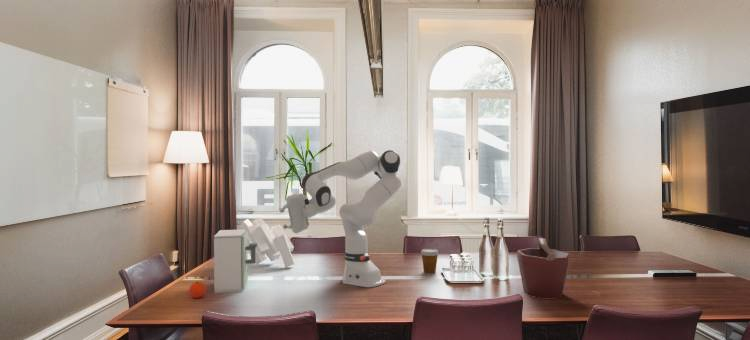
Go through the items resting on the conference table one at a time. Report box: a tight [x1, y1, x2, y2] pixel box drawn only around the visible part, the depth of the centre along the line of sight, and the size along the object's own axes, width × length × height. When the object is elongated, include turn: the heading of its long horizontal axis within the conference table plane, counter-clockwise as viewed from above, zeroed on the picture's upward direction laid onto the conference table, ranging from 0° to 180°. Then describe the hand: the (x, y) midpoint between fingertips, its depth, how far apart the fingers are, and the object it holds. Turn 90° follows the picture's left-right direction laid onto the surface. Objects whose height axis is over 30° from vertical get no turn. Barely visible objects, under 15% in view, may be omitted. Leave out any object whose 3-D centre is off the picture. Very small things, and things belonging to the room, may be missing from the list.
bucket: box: [516, 237, 571, 299], centre depth 198 cm, size 24×22×25 cm
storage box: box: [213, 229, 245, 294], centre depth 208 cm, size 12×18×26 cm, turn 11°
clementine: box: [188, 281, 208, 299], centre depth 192 cm, size 8×7×7 cm
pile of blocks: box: [239, 217, 295, 268], centre depth 253 cm, size 35×30×35 cm
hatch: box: [242, 230, 257, 291], centre depth 210 cm, size 6×19×25 cm, turn 11°
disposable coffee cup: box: [420, 248, 439, 274], centre depth 236 cm, size 10×10×12 cm
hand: (281, 219), depth 217 cm, fingers open, 8 cm apart
